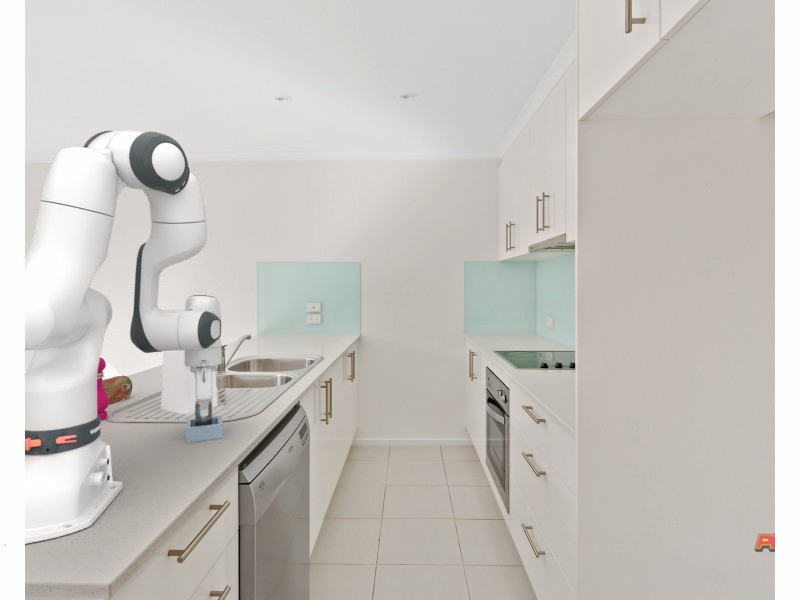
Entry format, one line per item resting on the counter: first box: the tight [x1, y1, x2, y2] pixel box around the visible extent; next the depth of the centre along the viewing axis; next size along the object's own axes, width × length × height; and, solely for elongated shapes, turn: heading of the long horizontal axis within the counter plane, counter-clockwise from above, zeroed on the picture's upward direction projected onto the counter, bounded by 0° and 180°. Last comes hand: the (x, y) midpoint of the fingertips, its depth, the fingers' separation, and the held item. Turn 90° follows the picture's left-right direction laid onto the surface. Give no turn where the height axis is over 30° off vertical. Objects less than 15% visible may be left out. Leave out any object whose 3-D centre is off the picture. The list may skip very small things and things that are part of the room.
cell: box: [194, 401, 213, 426], centre depth 115 cm, size 4×4×9 cm
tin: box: [102, 375, 133, 405], centre depth 147 cm, size 15×3×8 cm, turn 167°
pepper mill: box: [97, 356, 110, 421], centre depth 128 cm, size 7×7×20 cm
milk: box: [160, 351, 219, 415], centre depth 141 cm, size 12×12×26 cm
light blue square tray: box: [185, 415, 224, 444], centre depth 115 cm, size 8×8×4 cm
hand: (204, 410), depth 115 cm, fingers open, 8 cm apart
